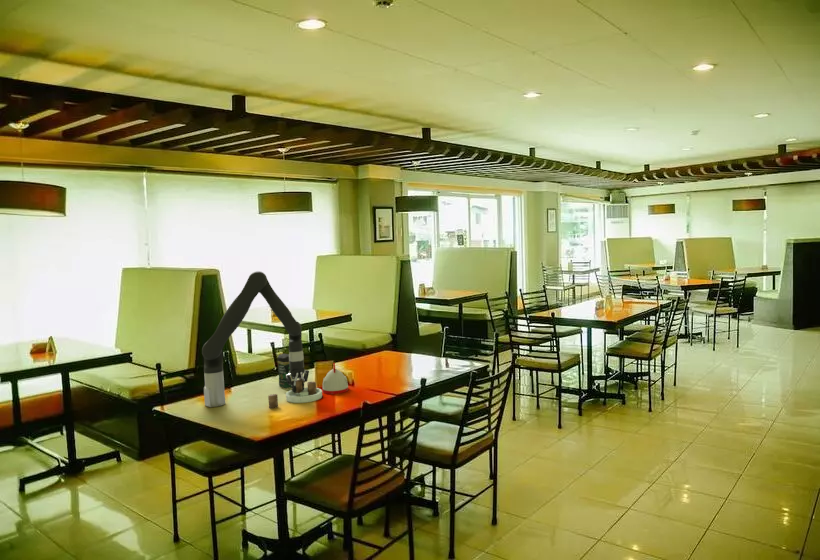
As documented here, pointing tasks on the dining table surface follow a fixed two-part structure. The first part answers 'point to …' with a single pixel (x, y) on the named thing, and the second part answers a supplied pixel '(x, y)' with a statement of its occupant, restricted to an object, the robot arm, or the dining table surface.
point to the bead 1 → (298, 386)
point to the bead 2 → (311, 388)
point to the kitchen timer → (335, 382)
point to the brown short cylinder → (273, 401)
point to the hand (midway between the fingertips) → (298, 391)
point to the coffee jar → (283, 370)
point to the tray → (303, 396)
